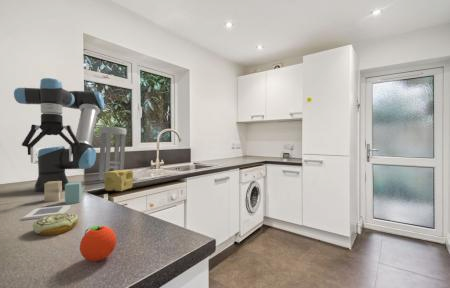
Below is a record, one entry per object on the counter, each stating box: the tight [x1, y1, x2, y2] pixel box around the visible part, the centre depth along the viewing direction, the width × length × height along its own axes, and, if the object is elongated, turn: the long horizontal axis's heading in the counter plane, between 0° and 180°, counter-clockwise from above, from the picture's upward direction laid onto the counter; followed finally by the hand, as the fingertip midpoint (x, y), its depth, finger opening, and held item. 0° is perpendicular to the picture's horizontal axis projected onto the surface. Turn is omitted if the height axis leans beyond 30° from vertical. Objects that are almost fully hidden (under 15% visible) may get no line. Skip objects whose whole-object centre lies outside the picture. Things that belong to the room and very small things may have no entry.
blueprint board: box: [22, 204, 72, 221], centre depth 79 cm, size 11×11×1 cm
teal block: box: [64, 181, 83, 205], centre depth 93 cm, size 5×5×8 cm
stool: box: [97, 126, 127, 182], centre depth 146 cm, size 16×16×35 cm
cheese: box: [104, 169, 134, 192], centre depth 118 cm, size 10×11×10 cm
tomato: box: [79, 225, 117, 262], centre depth 47 cm, size 8×7×7 cm
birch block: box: [43, 181, 63, 203], centre depth 97 cm, size 5×5×8 cm
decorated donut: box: [32, 212, 79, 237], centre depth 64 cm, size 10×11×4 cm
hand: (52, 161), depth 96 cm, fingers open, 13 cm apart
